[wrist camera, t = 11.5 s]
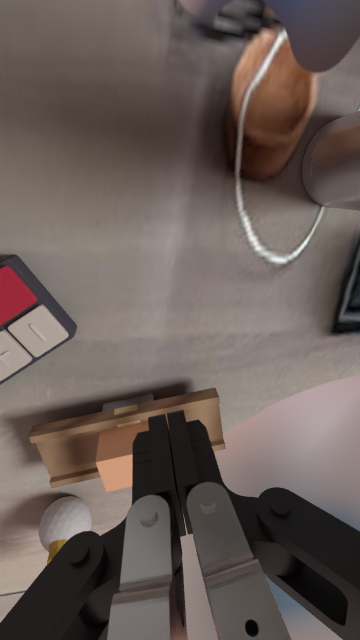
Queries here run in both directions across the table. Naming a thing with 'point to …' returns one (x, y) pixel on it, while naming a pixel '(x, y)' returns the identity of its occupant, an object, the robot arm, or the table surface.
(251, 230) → the table surface
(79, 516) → the perfume bottle
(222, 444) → the beam
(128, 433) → the block
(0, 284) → the calculator
